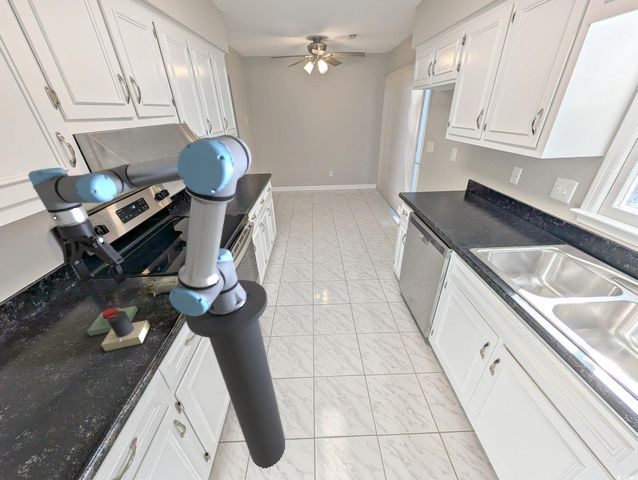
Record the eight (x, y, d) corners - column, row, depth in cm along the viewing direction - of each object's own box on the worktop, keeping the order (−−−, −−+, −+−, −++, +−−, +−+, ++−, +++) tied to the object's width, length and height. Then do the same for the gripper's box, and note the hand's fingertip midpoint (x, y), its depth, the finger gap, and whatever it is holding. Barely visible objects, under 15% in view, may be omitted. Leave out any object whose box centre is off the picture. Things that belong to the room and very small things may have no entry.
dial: (136, 324, 89) (128, 308, 86) (130, 335, 84) (121, 318, 81) (120, 328, 88) (111, 311, 85) (113, 338, 84) (103, 322, 80)
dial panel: (150, 325, 93) (147, 318, 91) (141, 344, 85) (137, 337, 83) (117, 332, 91) (113, 325, 89) (104, 352, 82) (99, 345, 81)
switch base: (138, 310, 101) (134, 302, 99) (127, 328, 92) (123, 320, 90) (103, 316, 98) (99, 308, 97) (89, 336, 90) (84, 327, 88)
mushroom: (146, 298, 107) (141, 288, 105) (156, 285, 116) (151, 275, 113) (181, 294, 108) (178, 283, 106) (188, 281, 117) (185, 271, 115)
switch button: (119, 310, 96) (117, 306, 95) (114, 317, 92) (112, 313, 91) (107, 312, 95) (105, 309, 94) (102, 320, 91) (100, 316, 91)
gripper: (25, 226, 74) (62, 286, 83) (96, 227, 69) (127, 289, 79) (53, 217, 80) (84, 273, 90) (119, 217, 76) (145, 276, 85)
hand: (104, 281), depth 84 cm, fingers open, 13 cm apart
